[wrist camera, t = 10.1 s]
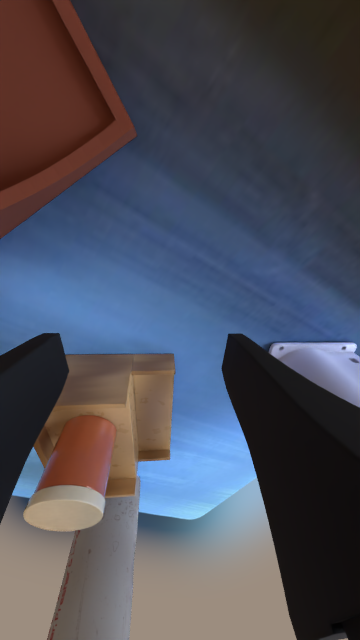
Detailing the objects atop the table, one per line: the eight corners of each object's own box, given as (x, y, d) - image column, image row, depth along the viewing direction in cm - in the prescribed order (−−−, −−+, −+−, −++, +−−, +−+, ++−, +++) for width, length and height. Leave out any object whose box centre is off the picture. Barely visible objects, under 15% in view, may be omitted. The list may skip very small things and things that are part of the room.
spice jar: (115, 412, 18) (97, 497, 13) (120, 445, 21) (106, 528, 15) (55, 414, 18) (11, 503, 12) (67, 448, 20) (35, 534, 15)
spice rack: (173, 353, 21) (178, 402, 16) (169, 440, 28) (171, 493, 23) (49, 354, 20) (10, 407, 15) (78, 444, 27) (58, 501, 22)
